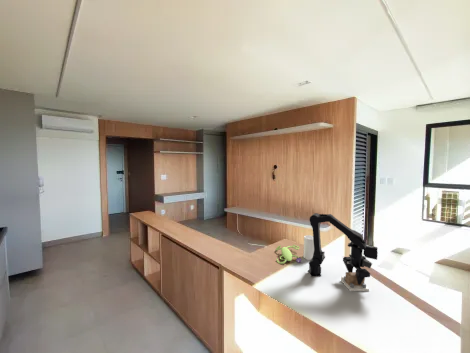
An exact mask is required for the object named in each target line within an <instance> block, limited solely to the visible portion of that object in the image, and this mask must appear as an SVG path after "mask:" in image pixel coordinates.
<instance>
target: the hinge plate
mask: <svg viewBox="0 0 470 353" xmlns="http://www.w3.org/2000/svg"><path fill="white" fill-rule="evenodd" d="M345 276H346V275H345ZM345 276H341V278H340V281H341V282H342V284H343V283H344V284H343V285H344V286H345V287H346V289H347V290H348V291H350V292H369V291H370V288H369V287H368V286H367V284H366V283H365V282H364V283H362V286H354V284H353V283H350V286H349V285H348V284H347V283H346V282H345Z"/></svg>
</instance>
